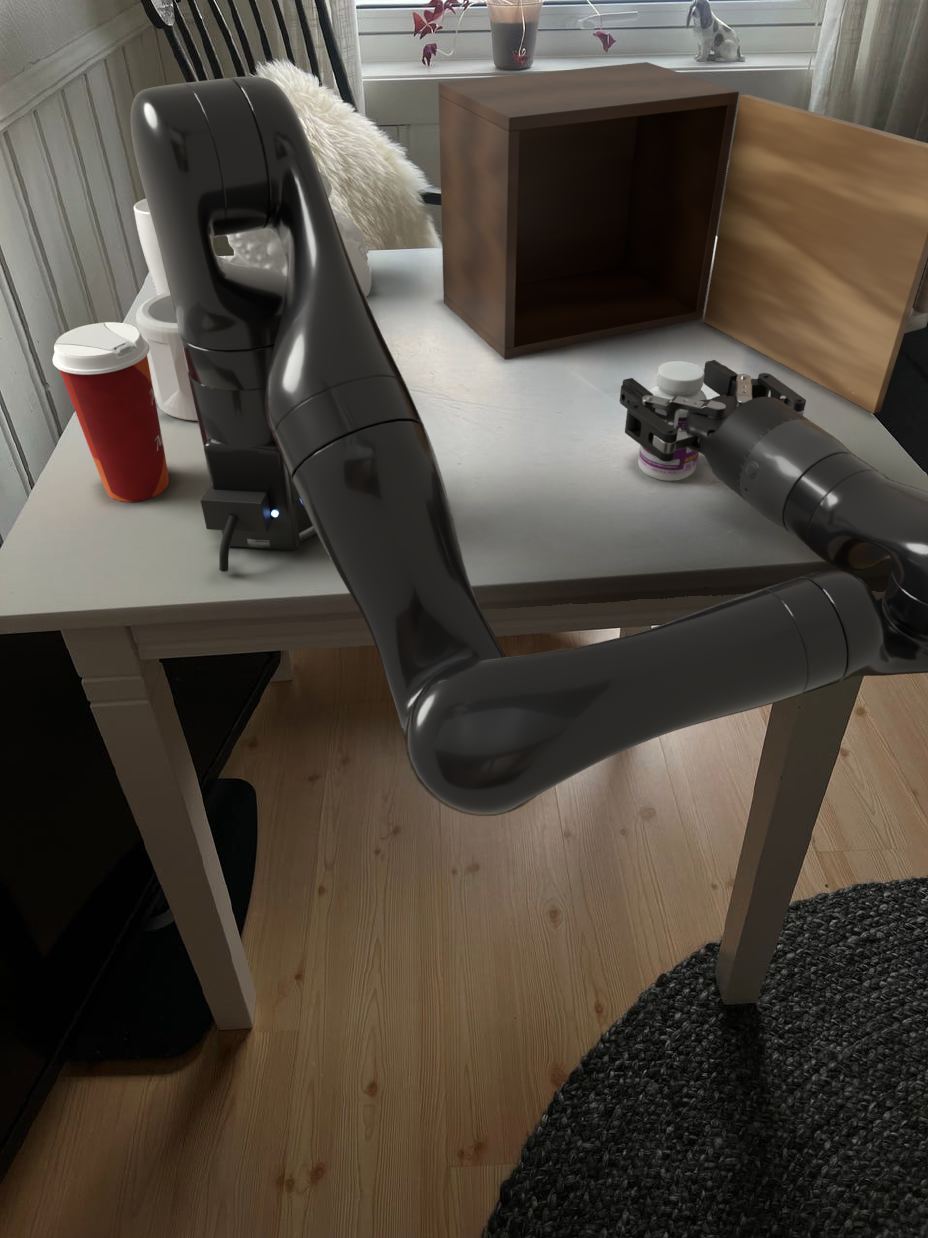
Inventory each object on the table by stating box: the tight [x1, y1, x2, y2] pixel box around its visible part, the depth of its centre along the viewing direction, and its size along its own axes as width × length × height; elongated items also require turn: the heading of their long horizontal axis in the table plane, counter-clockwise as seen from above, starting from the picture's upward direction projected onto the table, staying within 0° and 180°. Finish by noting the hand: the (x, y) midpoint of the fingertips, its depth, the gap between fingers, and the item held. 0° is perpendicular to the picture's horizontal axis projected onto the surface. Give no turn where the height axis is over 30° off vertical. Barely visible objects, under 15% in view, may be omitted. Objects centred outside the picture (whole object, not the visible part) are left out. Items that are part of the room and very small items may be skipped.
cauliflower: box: [224, 170, 372, 298], centre depth 118 cm, size 19×20×20 cm
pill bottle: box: [637, 360, 708, 482], centre depth 84 cm, size 5×5×10 cm
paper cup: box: [52, 321, 170, 503], centre depth 81 cm, size 8×8×14 cm
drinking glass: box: [133, 198, 170, 296], centre depth 105 cm, size 7×7×15 cm
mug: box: [135, 292, 198, 422], centre depth 96 cm, size 14×11×10 cm
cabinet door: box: [703, 93, 928, 415], centre depth 96 cm, size 7×26×24 cm, turn 28°
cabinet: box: [437, 61, 740, 360], centre depth 107 cm, size 18×26×24 cm
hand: (667, 379), depth 83 cm, fingers open, 8 cm apart
